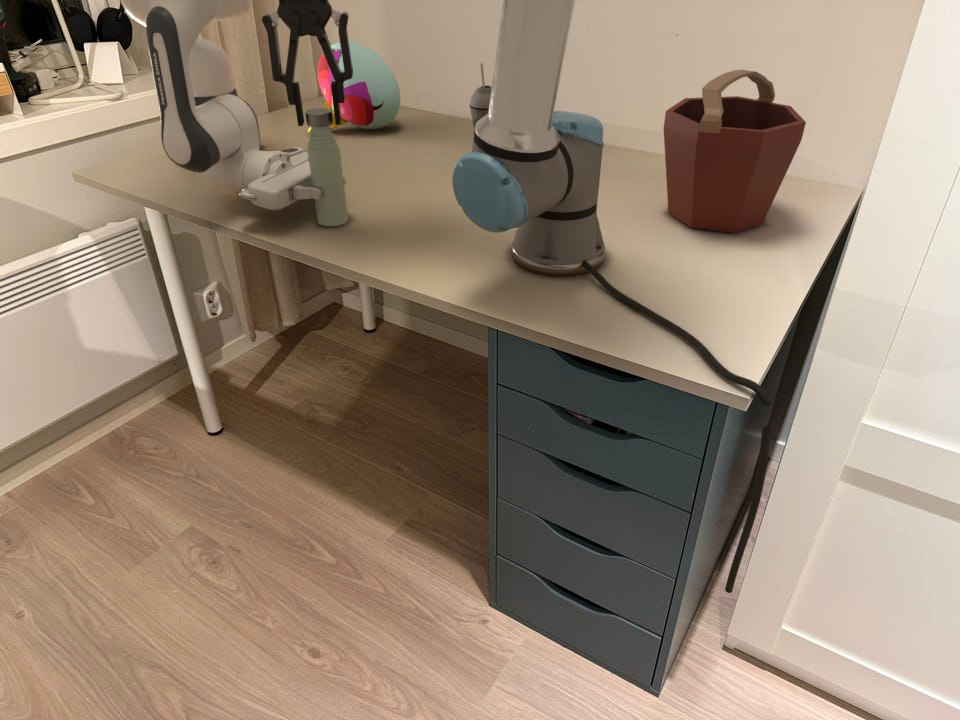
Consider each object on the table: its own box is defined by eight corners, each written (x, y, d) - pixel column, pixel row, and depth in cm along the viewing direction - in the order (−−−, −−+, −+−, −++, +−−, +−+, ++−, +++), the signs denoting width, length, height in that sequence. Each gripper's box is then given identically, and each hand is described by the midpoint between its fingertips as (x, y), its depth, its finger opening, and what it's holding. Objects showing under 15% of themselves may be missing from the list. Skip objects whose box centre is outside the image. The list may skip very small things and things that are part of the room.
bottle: (347, 213, 134) (335, 110, 123) (348, 224, 129) (336, 119, 118) (317, 215, 133) (302, 112, 122) (317, 227, 128) (302, 121, 118)
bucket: (710, 250, 119) (740, 96, 105) (622, 208, 134) (638, 69, 120) (804, 218, 129) (843, 75, 115) (713, 183, 145) (736, 53, 131)
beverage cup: (489, 165, 155) (489, 69, 144) (463, 159, 159) (461, 64, 148) (508, 156, 160) (510, 63, 149) (483, 150, 164) (482, 59, 152)
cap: (323, 118, 124) (321, 106, 122) (338, 123, 121) (336, 110, 120) (301, 123, 121) (299, 111, 120) (317, 128, 118) (315, 116, 117)
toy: (277, 110, 181) (275, 51, 163) (352, 72, 191) (358, 13, 173) (336, 175, 178) (341, 122, 160) (410, 134, 188) (421, 79, 170)
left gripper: (229, 177, 122) (294, 189, 117) (301, 144, 138) (361, 153, 133) (237, 212, 126) (300, 224, 121) (306, 175, 141) (364, 185, 136)
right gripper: (361, -35, 112) (374, 115, 125) (241, -32, 110) (268, 119, 123) (359, -30, 106) (373, 127, 119) (232, -27, 104) (261, 131, 117)
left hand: (332, 187), depth 127 cm, fingers closed on bottle, 5 cm apart
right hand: (319, 122), depth 121 cm, fingers open, 6 cm apart
